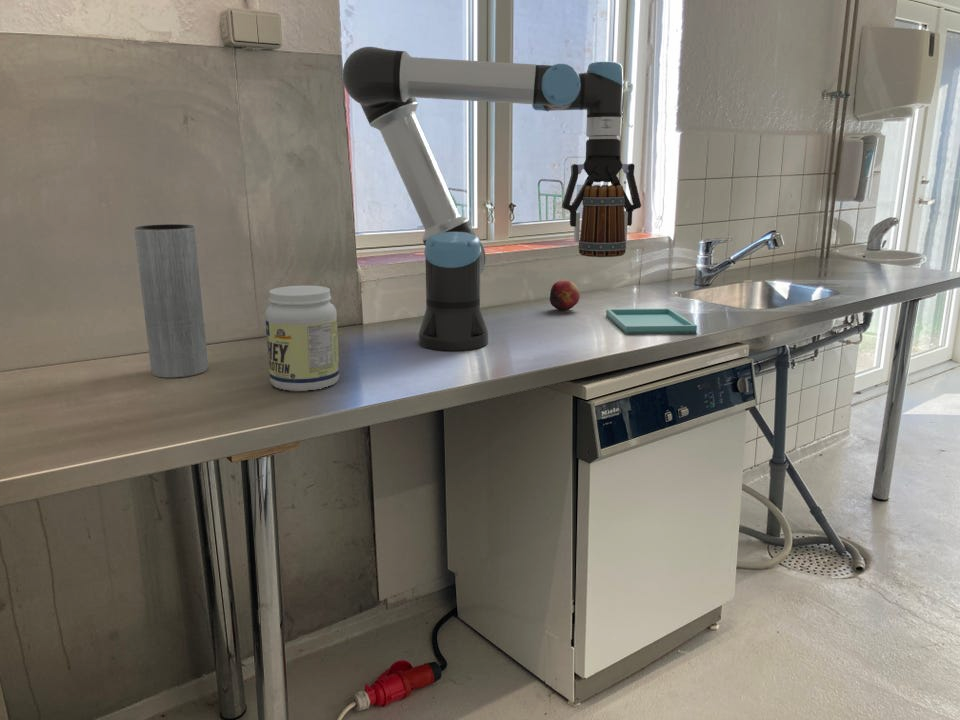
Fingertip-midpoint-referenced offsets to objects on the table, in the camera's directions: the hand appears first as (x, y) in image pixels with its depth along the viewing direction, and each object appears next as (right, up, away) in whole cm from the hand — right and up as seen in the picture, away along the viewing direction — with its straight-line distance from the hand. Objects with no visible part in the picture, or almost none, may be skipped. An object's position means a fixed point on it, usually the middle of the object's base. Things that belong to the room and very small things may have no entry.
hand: (600, 241), depth 167 cm
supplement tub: (-58, -31, -35) cm, 75 cm away
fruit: (-5, -14, +30) cm, 33 cm away
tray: (+14, -18, +13) cm, 27 cm away
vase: (-84, -29, -27) cm, 93 cm away
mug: (+1, -3, +1) cm, 3 cm away
